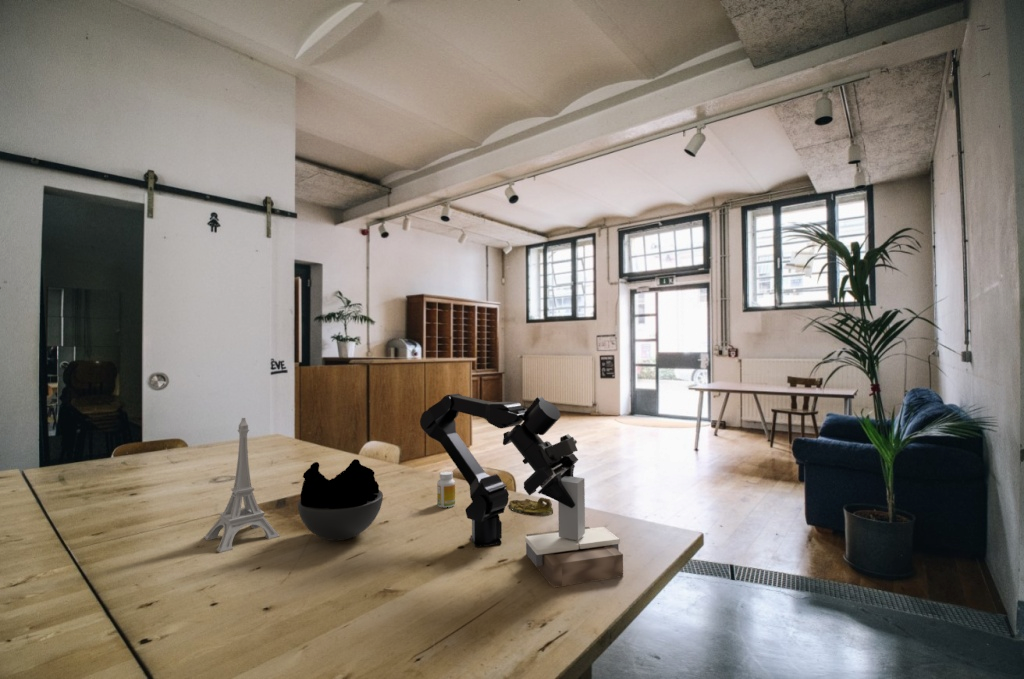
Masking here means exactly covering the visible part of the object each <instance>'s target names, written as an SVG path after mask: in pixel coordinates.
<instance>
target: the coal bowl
mask: <svg viewBox="0 0 1024 679" xmlns="http://www.w3.org/2000/svg"><path fill="white" fill-rule="evenodd" d="M319 468H320V463H319V462H318V461H315V462H313V463H312V464H310V466H309V468H308V469H306V471H304V472H303V475H302V478H303V479H304V480H303V483H302V486H301V487H302V488H301V491H300V496H299V497H300V499H299V500H298V502H297V508H298V513H299V514H298V515H299V516H300V519H301V521H302V523H303V525H304V526H305V527H306V528H307V530H308V531H309V532H311V533H312V534H313V535H315V536H316V537H319V538H320V539H324V540H327V541H343V540H344V541H345V540H348V539H351V538H354V537H356V536H357V535H359V534H361V533H363V532H364V531H365V530H366V529H367V528H369V527H370V526H371V525H372V524H373V522H374V521H375V519H376V518H377V517H378V514H379V512H380V510H381V508H382V503H383V499H384V495H383V494H384V493H383V491H382V490H380V489H379V487H380V485H379V483H378V481H377V480H376V478H375V471H374V470H373V469H372V468H370V467H367V466H365V465H363V464H361V462H360V459H357V458H356V459H353V460H352V461H351V462H350V463H349V465H348V466H347V467H346V468H345V469H343V471H341V472H340V473H339V474H336V475H335V477H333V478H331V479H328V478H326V477H325V476H326V475H324V474H322V473H321V471H320V469H319Z"/></svg>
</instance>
